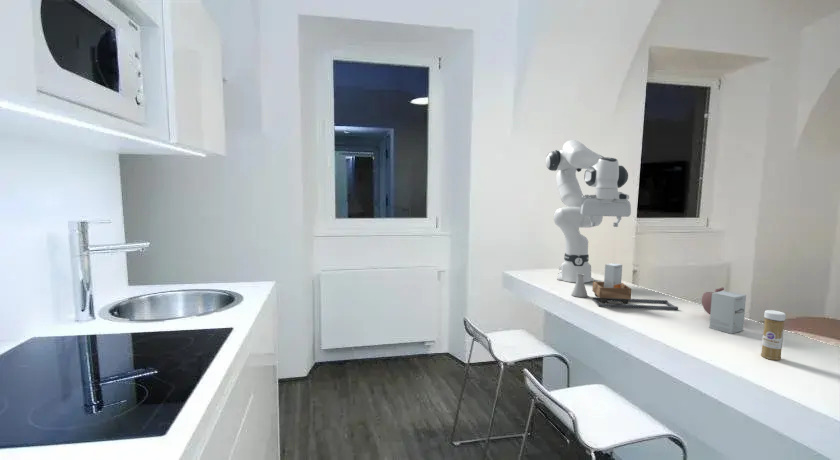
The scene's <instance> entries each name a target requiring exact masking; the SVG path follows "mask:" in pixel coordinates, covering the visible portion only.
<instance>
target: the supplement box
mask: <svg viewBox="0 0 840 460" xmlns="http://www.w3.org/2000/svg"><path fill="white" fill-rule="evenodd" d="M714 292H715V291H714ZM746 298H747V295H746V294H742V293H736V292H733V291H731V292H730V291H726V290H722V291H720V292H715V293H712V300H711V313H710V314H709V316H710V317H709V327H708V328H710V329H712V330H715V331H719V332H722V333H723V332H724V333H726V334H731V335H732V334H735V333H738V332H742V331H744V323H745V322H744V321H745V312H746V300H747V299H746Z"/></svg>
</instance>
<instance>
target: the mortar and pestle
mask: <svg viewBox="0 0 840 460" xmlns="http://www.w3.org/2000/svg"><path fill="white" fill-rule="evenodd" d="M721 291H725V288H724V287H723V286H722V287H720V288H715V290H714V291H713V292H712V291H705V292H704V293H703V294H702V298H701V305H702V308H703V309H704V311H705V312H706V313H707V314H708V315H710V313H711V300H712V293H715V292H721Z"/></svg>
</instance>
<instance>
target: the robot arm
mask: <svg viewBox="0 0 840 460" xmlns="http://www.w3.org/2000/svg"><path fill="white" fill-rule="evenodd" d="M545 166H546V168H547V169H548V170H549V171H552V172H556V171H557V173H556V174H555V175H556V176H555V178H556V180H555V181H556V187H557V190H558V194H559V197H560V200H561V203H563V204H564V205H566V206H563V207H560V208H557V209H556V210H555V211H554V214H553V221H554V224H555V225H556V226H557V227H558V228H560V230H561V231H562V233H563V235H564V238H565V253H564V255H563V259H564V260H563V262H562V263H561V265H560V266H558V271H559V273H557V276H556V277H557V278H556V279H557V280H559V281H563V282H568V283H576V282H577V274H579V273H580V274H584V276H583V280H584V284H585V283H591V282H595V278H593V277H592V265H591V264H590V263H589V259H590V257H589V240H588V238H587V237H586V236H585V235H583V234H581V232H580V228H585V229H586V228H589V229H590V228H594V227H598V226H600V225H601V223H602V222H603V219H604V218H603V217H616V221H615V222H613V225H612V226H613V227H614V228H618V227H619V223H620V222H621V220H622V218H623V217H626V218H628V217H630V216H631V213H632V207H631V206H632V205H631V202H630V200H629V199H630V195H629V194H626V193H624V192H621V191H619V189H620V188H622V187H623V186H624V185H625V184H626V183H627V182H628V180H629V172H628V169H626V167H624V166H623V165H620V164H619V160H618V159H617V158H614V157H609V156H608V157H605V156H603V155H601V154H598V153H597V152H595V151H593V150H591V149H590V148H589V147H587V146H586V145H585V144H583V143H582V142H580V141H579V140H577V139H569V140H567V141H565V142H564V144H563V145H562V149H560V150H559V149H555V150H552V151H551V152H548V154H547V155H546V156H545ZM582 169H583V170H584V169H585V171H584V177H583V179H584V183H586V185H587V186H588V187H591V188H595V194H583V191H582V188H581V187H580V183H579V180H578V178H577V174H576V172H578V173H579V172H581V171H582Z"/></svg>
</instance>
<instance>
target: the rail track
mask: <svg viewBox="0 0 840 460" xmlns="http://www.w3.org/2000/svg"><path fill="white" fill-rule="evenodd" d="M591 299H592V301H593V302H594V303H595V304H596V305H597V307H599V308H619V309H620V308H621V309H637V310H638V309H640V310H641V309H643V310H661V311H662V310H664V311H665V310H667V311H679V306H675V305H674V304H672V303H670V302H669V301H668V300H667V299H648V298H646V299H645V298H643V299H642V298H631V299H628V303H627V304H623V303H622V302H621V299H614V298H607V300H608V301H607V302H619V303H602V302H601V298H599V297H596V296H592V298H591ZM629 303H641V304H629ZM642 303H644V304H642ZM646 303H647V305H646ZM653 304H664V305H653Z"/></svg>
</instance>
